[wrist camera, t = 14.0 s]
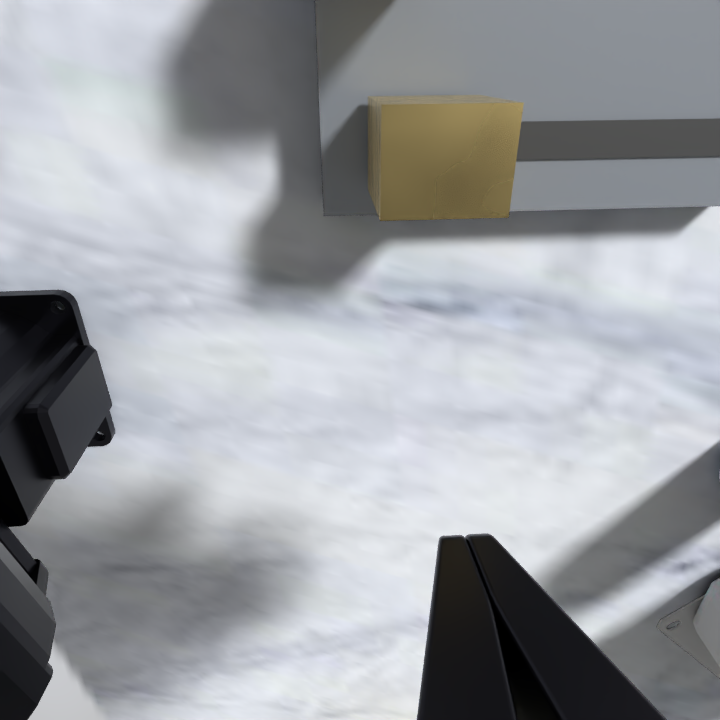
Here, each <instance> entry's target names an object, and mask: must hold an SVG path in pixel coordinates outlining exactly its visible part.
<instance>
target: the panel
mask: <svg viewBox="0 0 720 720" xmlns="http://www.w3.org/2000/svg"><path fill="white" fill-rule="evenodd" d="M315 18H316V42H317V66H318V89H319V113H320V137H321V161H322V185H323V208H324V216H345V215H378V214H377V211H376V209H375V206H374V204H373V201H372V199H371V196H370V194H369V191H368V96H417V95H484V96H489V97H495V98H501V99H506V100H512V101H517V102H523V103H524V105H523V113H522V120H521V128H520V135H519V143H518V151H517V158H516V166H515V174H514V181H513V189H512V196H511V204H510V211H544V210H584V209H624V208H664V207H704V206H720V0H315Z"/></svg>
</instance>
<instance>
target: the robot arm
mask: <svg viewBox="0 0 720 720" xmlns="http://www.w3.org/2000/svg"><path fill="white" fill-rule="evenodd" d="M55 301H59V302H61V303H62V304H64V306H65V310H62V309H59V308H58V307H57V306H56V304H55ZM111 407H112V402H111V398H110V395H109V392H108V388H107V385H106V381H105V378H104V374H103V371H102V368H101V364H100V361H99V357H98V354H97V351H96V350H95V349H94V348H93V347H92V346H91V345H90V344H89V340H88V337H87V334H86V330H85V327H84V323H83V320H82V317H81V313H80V310H79V307H78V303H77V301H76V299H75V298H74V297H73V296H72V295H71V294H70V293H68V292H66V291H63V290H40V291H9V292H0V720H28V718H29V717H30V715H31V714H32V713H33V711H34V710H35V708H36V707H37V705H38V703H39V701H40V699H41V697H42V695H43V693H44V691H45V689H46V687H47V685H48V683H49V682H50V680H51V677H52V674H53V669H52V666H51V665H50V664H49V663H48V661H49V658H50V654H51V649H52V643H53V638H54V633H55V627H56V622H55V618H54V615H53V611H52V607H51V603H50V601H49V600H48V598H47V597H46V589H47V582H48V574H49V572H48V570H47V569H46V567H45V566H44V565H43V564H42V562H41V561H40V560H38V559H33V558H32V556H31V555H30V554H29V553H28V551H27V550H26V549H25V548H24V546H23V545H22V544H21V543H20V541H19V540H18V539H17V538H16V536H15V535H14V534H13V533H12V531H11V530H10V529H9V528H8V527H13V526H23V525H26V524H27V523H28V521H29V520H30V518H31V517H32V515H33V514H34V512H35V511H36V509H37V507H38V506H39V504H40V503H41V501H42V500H43V498H44V496H45V495H46V493H47V492H48V490H49V489H50V487H51V486H52V484H53V482H54V481H55V480H56V479H65V478H66V477H67V476H68V475H69V474H70V473H71V472H72V471H73V469H74V467H75V466H76V464H77V462H78V461H79V459H80V458H81V456H82V454H83V453H84V451H85V449H86V448H87V447H90V446H104V445H107V444H109V443H110V441H111V440H112V438H113V436H114V434H115V428H114V424H113V421H112V418H111V414H110V411H109V410H110V408H111ZM97 431H101V432H103V433H104V434H105V435H101V434H99V433H97ZM417 720H666V718H665V717H664V716H663V715H662V714H661V713H660V712H659V711H658V710H657V709H656V708H655V707H654V706H653V705H652V704H651V703H650V702H649V700H648V699H647V698H646V697H645V696H644V695H643V694H642V693H641V692H640V691H639V690H638V689H637V688H636V687H635V686H634V685H633V684H632V683H631V681H630V680H629V679H628V678H627V677H626V676H625V675H624V674H623V673H622V672H621V671H620V670H619V669H618V668H617V667H616V666H615V665H614V663H613V662H612V661H611V660H610V659H609V658H608V657H607V656H606V655H605V654H604V653H603V652H602V651H601V650H600V649H599V648H598V647H597V645H596V644H595V643H594V642H593V641H592V640H591V639H590V638H589V637H588V636H587V635H586V634H585V633H584V632H583V631H582V630H581V629H580V628H579V626H578V625H577V624H576V623H575V622H574V621H573V620H572V619H571V618H570V617H569V616H568V615H567V614H566V613H565V612H564V611H563V610H562V608H561V607H560V606H559V605H558V604H557V603H556V602H555V601H554V600H553V599H552V598H551V597H550V596H549V595H548V594H547V593H546V592H545V591H544V589H543V588H542V587H541V586H540V585H539V584H538V583H537V582H536V581H535V580H534V579H533V578H532V577H531V576H530V575H529V574H528V573H527V571H526V570H525V569H524V568H523V567H522V566H521V565H520V564H519V563H518V562H517V561H516V560H515V559H514V558H513V557H512V556H511V555H510V553H509V552H508V551H507V550H506V549H505V548H504V547H503V546H502V545H501V544H500V543H499V542H498V541H497V540H496V539H495V538H494V537H493V536H492V535H490V534H469V535H467V536H466V537H464V536H462V535H452V536H441V537H440V538H439V543H438V551H437V559H436V567H435V575H434V584H433V592H432V600H431V608H430V616H429V625H428V633H427V641H426V649H425V657H424V666H423V674H422V682H421V690H420V698H419V707H418V715H417Z"/></svg>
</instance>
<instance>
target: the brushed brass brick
mask: <svg viewBox="0 0 720 720" xmlns="http://www.w3.org/2000/svg"><path fill="white" fill-rule="evenodd" d="M523 105H524V103H523V102H517V101H512V100H506V99H501V98H495V97H489V96H484V95H417V96H368V191H369V194H370V196H371V199H372V201H373V204H374V206H375V209H376V211H377V214H378V216H379V219H380V221H396V220H435V219H474V218H509V212H510V204H511V196H512V189H513V181H514V174H515V166H516V158H517V151H518V143H519V135H520V128H521V120H522V113H523Z"/></svg>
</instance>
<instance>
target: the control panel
mask: <svg viewBox="0 0 720 720" xmlns="http://www.w3.org/2000/svg"><path fill="white" fill-rule="evenodd" d="M676 621H679V622H680V623H679V624H678V625H677V626H676V627H673V628H670V629H669V628H666V627H667V626H668V625H669V624H671V623H673V622H676ZM657 628H658V629H659V630H660V631H661V632H662V633H664V634H665V635H666V636H667V637H669V638H670V639H671V640H672V641H674V642H675V643H676V644H677V645H678V646H680V647H681V648H682V649H683V650H685V651H686V652H687V653H688V654H690V655H691V656H692V657H693V658H695V659H696V660H697V661H698V662H700V663H701V664H702V665H703V666H705V667H706V668H707V669H708V670H710V671H711V672H712V673H713V674H714V675H716V676H717V677H718V678H719V679H720V578H718V579H717V580H715V581H713V582H712V583H711V585H710V587H709V589H708V591H707V593H706V594H705V595H703V596H701V597H699V598H698V599H696V600H694V601H692V602H691V603H689V604H687V605H685V606H683V607H682V608H680V609H678V610H676V611H675V612H673V613H671V614H669V615H668V616H666V617H664V618H662V619H661V620H660V621H659V623H658V626H657Z"/></svg>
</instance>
